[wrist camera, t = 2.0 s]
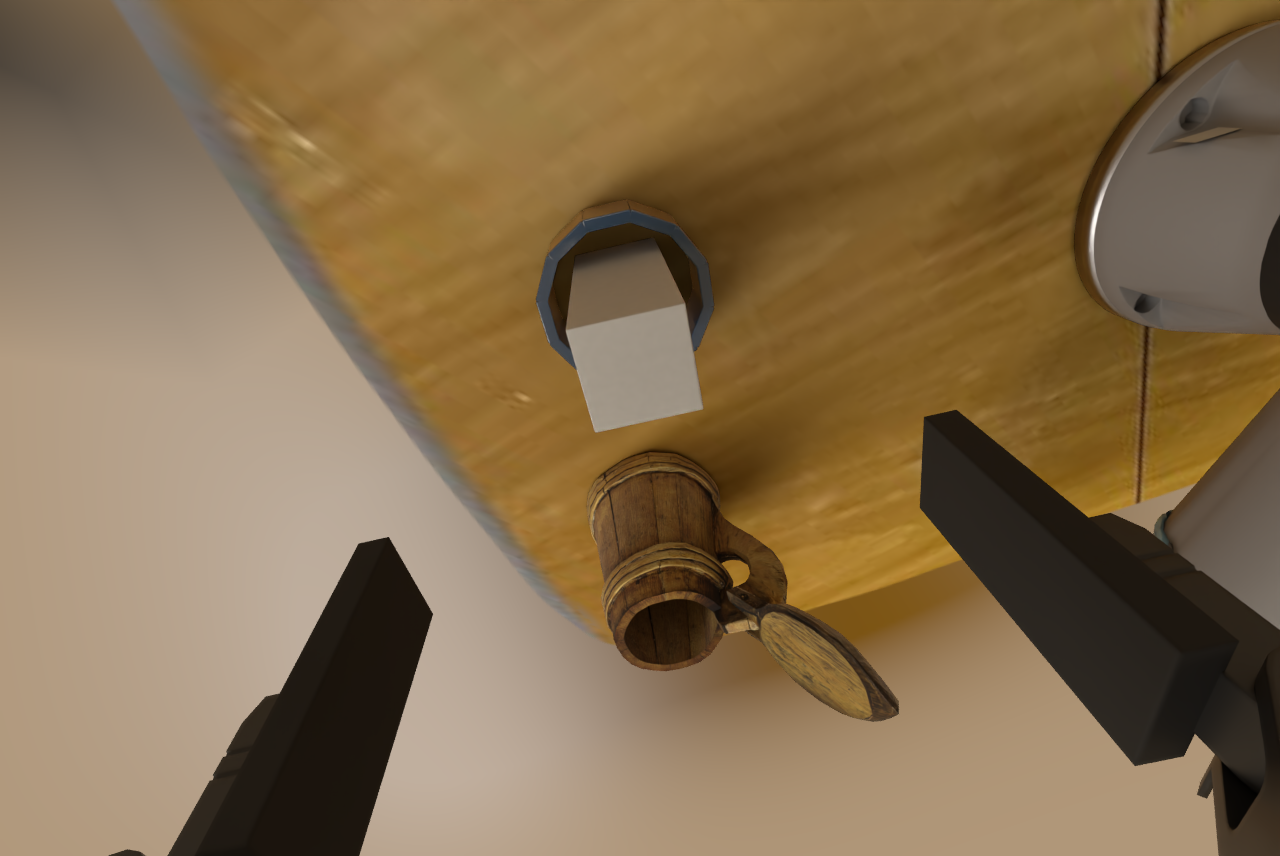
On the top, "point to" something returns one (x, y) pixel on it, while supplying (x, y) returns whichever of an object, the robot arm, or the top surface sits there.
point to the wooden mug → (709, 586)
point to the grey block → (631, 337)
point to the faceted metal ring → (608, 217)
